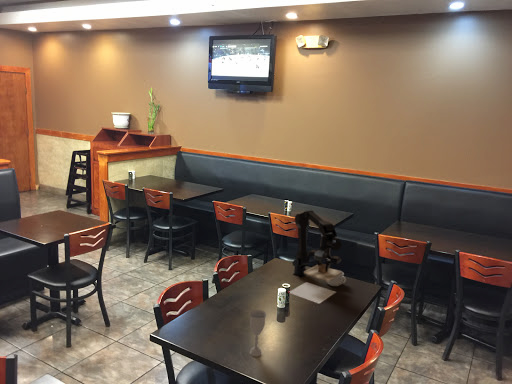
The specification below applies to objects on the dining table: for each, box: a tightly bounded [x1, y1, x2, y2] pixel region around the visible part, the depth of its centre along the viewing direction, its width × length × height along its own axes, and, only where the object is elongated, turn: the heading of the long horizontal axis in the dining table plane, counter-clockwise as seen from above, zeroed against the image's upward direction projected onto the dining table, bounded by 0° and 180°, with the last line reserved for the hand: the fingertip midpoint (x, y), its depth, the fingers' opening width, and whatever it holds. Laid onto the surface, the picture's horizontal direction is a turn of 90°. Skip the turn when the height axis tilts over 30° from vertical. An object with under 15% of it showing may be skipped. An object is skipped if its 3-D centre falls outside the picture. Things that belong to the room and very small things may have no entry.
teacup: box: [325, 268, 347, 287], centre depth 247 cm, size 14×11×8 cm
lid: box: [304, 262, 343, 282], centre depth 238 cm, size 16×16×5 cm
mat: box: [289, 281, 337, 305], centre depth 236 cm, size 20×20×1 cm
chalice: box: [248, 309, 268, 357], centre depth 173 cm, size 7×7×18 cm
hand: (323, 270), depth 238 cm, fingers closed on lid, 4 cm apart
